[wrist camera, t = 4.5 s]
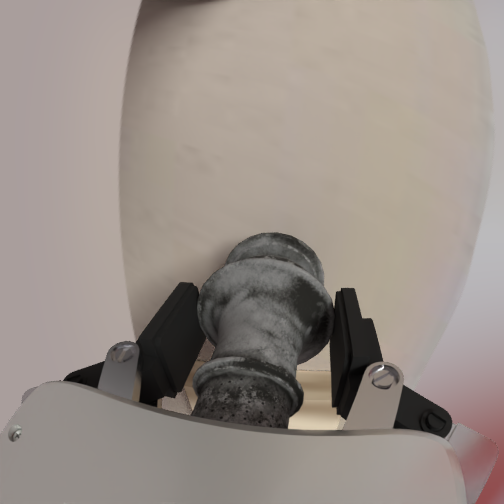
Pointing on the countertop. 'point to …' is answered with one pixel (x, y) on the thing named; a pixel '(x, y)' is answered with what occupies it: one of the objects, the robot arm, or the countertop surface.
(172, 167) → the countertop surface
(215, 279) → the weathered stone finial
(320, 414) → the birch base block
